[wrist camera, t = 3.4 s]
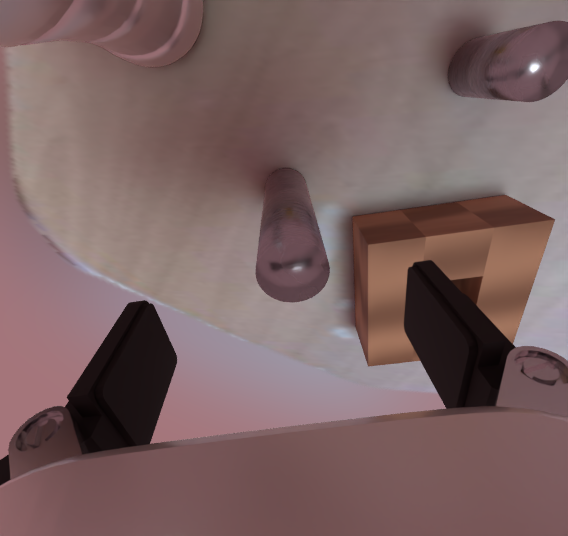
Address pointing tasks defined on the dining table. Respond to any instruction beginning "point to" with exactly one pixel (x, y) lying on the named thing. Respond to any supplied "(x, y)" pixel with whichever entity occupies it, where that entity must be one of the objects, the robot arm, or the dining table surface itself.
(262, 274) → the grey tall cylinder
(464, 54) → the mauve rounded capsule
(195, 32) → the plastic bottle
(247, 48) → the dining table surface
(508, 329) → the walnut block
